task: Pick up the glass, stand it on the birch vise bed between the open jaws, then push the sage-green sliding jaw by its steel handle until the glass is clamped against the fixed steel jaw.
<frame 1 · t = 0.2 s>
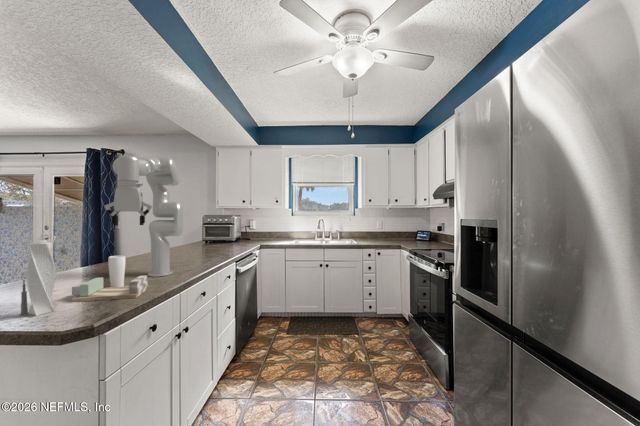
hand: (128, 225, 123), 31 cm above the counter, tool pointing down, fingers open, 9 cm apart
sliding jaw: (86, 286, 124), point 4 cm above the counter, slide at 0.0 cm
vise: (114, 294, 127), on the counter
skyscraper: (41, 313, 104), on the counter
drinking glass: (117, 287, 138), on the counter
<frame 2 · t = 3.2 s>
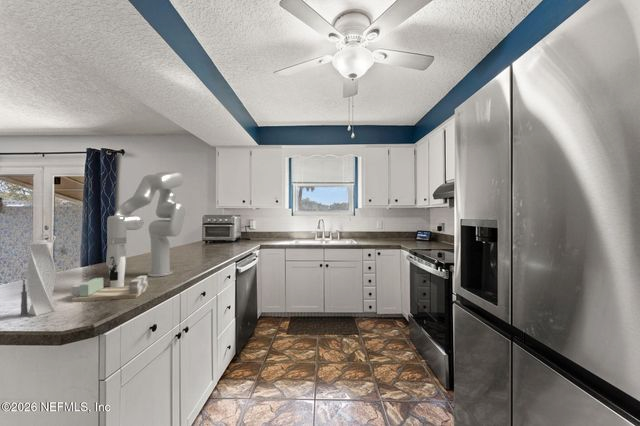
hand: (117, 278, 138), 4 cm above the counter, tool pointing down, fingers closed on drinking glass, 6 cm apart
drinking glass: (117, 287, 138), on the counter, touching gripper
everything else where it was.
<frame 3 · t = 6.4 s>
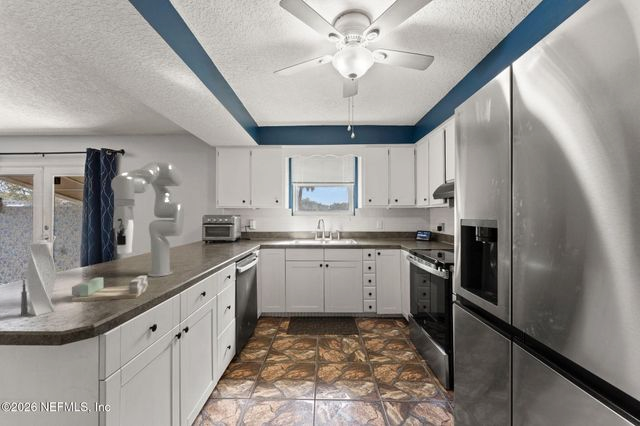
hand: (124, 243, 128), 22 cm above the counter, tool pointing down, fingers closed on drinking glass, 6 cm apart
drinking glass: (124, 254, 128), point 18 cm above the counter, touching gripper
everything else where it was.
when the fingers open (7 cm above the counter, at t = 9.7 s): drinking glass drops 1 cm, resting on vise.
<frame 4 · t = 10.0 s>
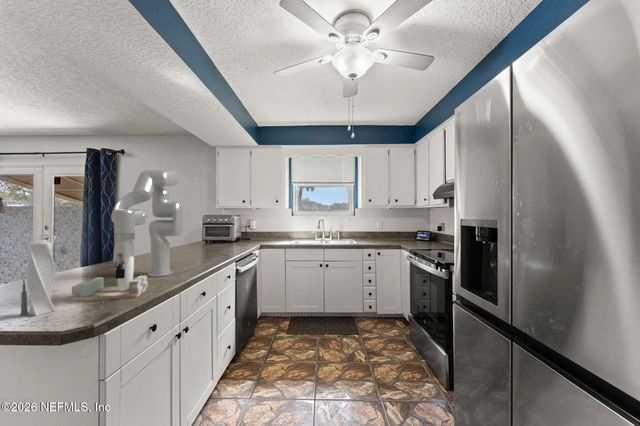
hand: (124, 275, 128), 8 cm above the counter, tool pointing down, fingers open, 9 cm apart
drinking glass: (125, 290, 128), point 1 cm above the counter, touching vise
everything else where it was.
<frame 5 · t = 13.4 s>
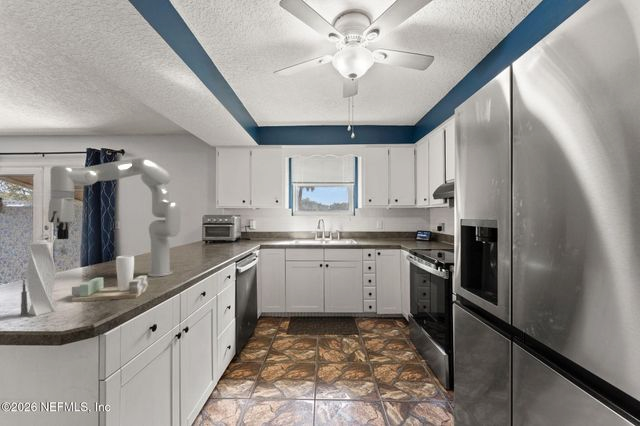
hand: (62, 238, 122), 25 cm above the counter, tool pointing down, fingers closed
nothing on the counter moved.
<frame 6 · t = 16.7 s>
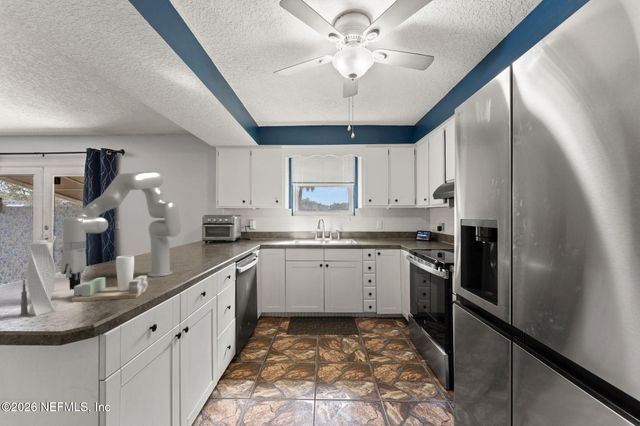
hand: (75, 288, 123), 4 cm above the counter, tool pointing down, fingers closed
sliding jaw: (88, 286, 124), point 4 cm above the counter, slide at 0.8 cm, touching gripper
everything else where it was.
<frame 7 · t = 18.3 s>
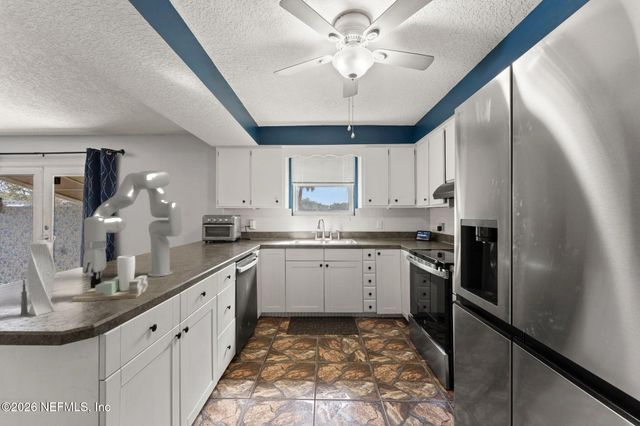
hand: (95, 287, 125), 4 cm above the counter, tool pointing down, fingers closed
sliding jaw: (109, 285, 126), point 4 cm above the counter, slide at 8.4 cm, touching gripper
everything else where it was.
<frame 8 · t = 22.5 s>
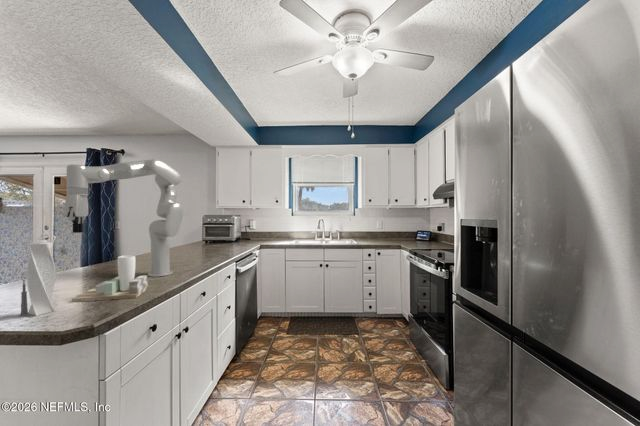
hand: (77, 232, 131), 27 cm above the counter, tool pointing down, fingers closed
sliding jaw: (109, 285, 126), point 4 cm above the counter, slide at 8.6 cm, touching drinking glass
drinking glass: (126, 290, 129), point 1 cm above the counter, touching sliding jaw, vise
everything else where it was.
at the end: sliding jaw slide at 8.6 cm; drinking glass 0.8 cm from the target spot on the vise, point 1.3 cm above the vise's base; drinking glass tilted 0° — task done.
